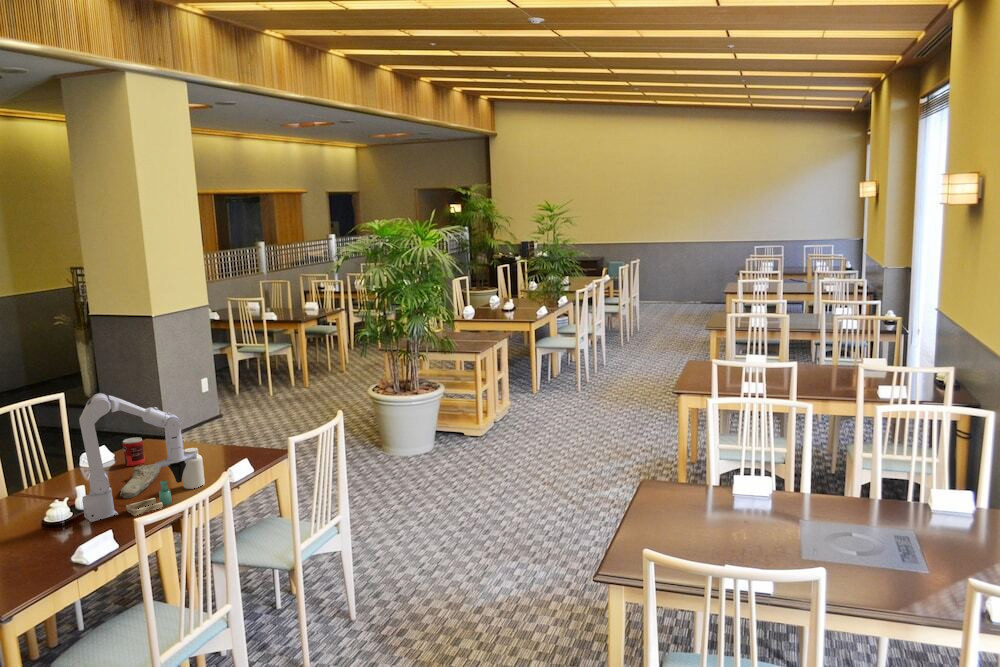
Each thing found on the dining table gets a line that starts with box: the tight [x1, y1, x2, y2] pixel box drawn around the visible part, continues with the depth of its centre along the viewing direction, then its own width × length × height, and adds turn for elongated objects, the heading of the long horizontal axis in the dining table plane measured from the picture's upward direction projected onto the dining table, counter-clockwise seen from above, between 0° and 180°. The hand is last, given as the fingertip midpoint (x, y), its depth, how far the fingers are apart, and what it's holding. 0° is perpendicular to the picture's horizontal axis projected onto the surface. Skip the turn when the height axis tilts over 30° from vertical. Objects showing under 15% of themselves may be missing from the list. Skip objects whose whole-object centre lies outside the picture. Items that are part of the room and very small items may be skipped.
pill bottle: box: [182, 447, 206, 490], centre depth 306 cm, size 8×8×15 cm
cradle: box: [125, 497, 164, 517], centre depth 284 cm, size 10×8×2 cm
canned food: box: [122, 437, 146, 467], centre depth 339 cm, size 8×8×11 cm
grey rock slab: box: [119, 463, 161, 499], centre depth 313 cm, size 35×5×10 cm
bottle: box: [158, 480, 173, 507], centre depth 288 cm, size 4×4×8 cm
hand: (178, 481), depth 292 cm, fingers closed
